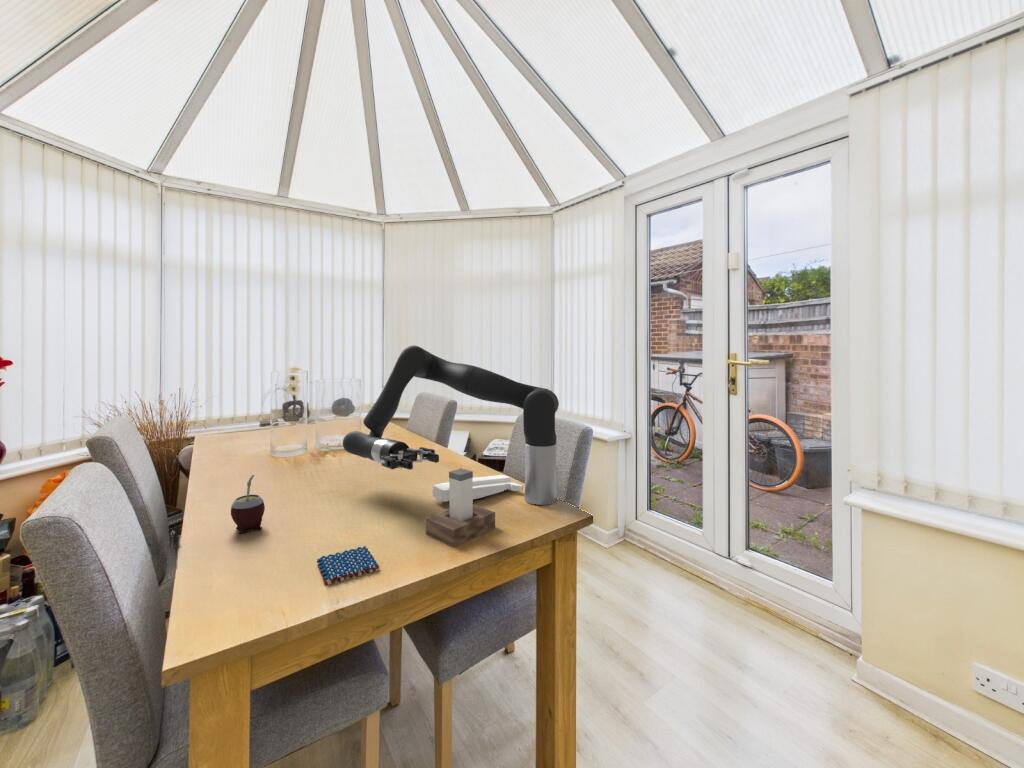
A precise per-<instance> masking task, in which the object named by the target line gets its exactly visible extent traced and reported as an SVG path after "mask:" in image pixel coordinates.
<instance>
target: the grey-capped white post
mask: <svg viewBox="0 0 1024 768" xmlns="http://www.w3.org/2000/svg"><path fill="white" fill-rule="evenodd" d="M473 471H474V470H470V469H466V468H458V469H454V470H451V471H448V478H449V481H448V482H449V509H450V518H451V519H454V520H456V521H458V522H462V521H465V520H467V519H469V518H472V517H473V503H474V501H473V500H474V499H473V478H474V476H473V475H474V472H473Z"/></svg>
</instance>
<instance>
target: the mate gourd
mask: <svg viewBox="0 0 1024 768" xmlns="http://www.w3.org/2000/svg"><path fill="white" fill-rule="evenodd" d="M254 477H255V475H254V474H252V475H251V476H250V478H248V479H249V480H248V481H247V483H246V484H247V487H246V494H245V495H242V496H239V497H237V498H235V499H234V501H233V502H232V504H231V509H230V515H231V519H232V521H233V523H234V524H235V525H236V527H235V530H236V529H240V530H239V533H238V534H243V533H244V534H246V533H247V532H249V531H261V530H262V529H263V527H262V522H263V517H264V514H265V510H266V509H265V507H266V506H265V502H264V499H263V498H262V497H261V496H260V495H258V494H250V491H251V486H252V480H253V479H254ZM248 530H249V531H248ZM246 531H247V532H246ZM245 532H246V533H245ZM244 534H243V535H244Z"/></svg>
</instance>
